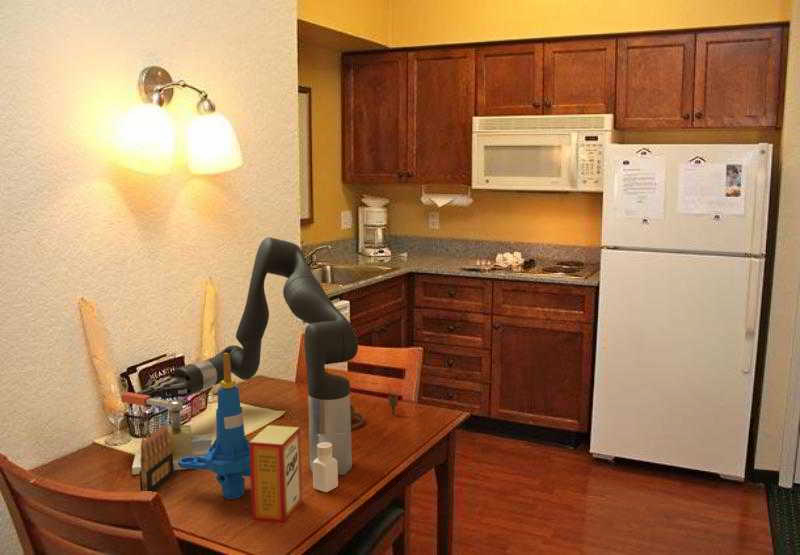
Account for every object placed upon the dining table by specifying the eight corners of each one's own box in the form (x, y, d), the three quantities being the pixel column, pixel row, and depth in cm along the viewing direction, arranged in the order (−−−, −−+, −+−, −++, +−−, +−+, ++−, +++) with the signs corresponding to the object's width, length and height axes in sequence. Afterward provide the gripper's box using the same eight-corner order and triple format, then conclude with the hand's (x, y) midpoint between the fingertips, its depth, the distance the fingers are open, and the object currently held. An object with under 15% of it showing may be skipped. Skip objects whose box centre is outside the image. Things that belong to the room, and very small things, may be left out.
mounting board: (220, 450, 175) (220, 443, 175) (221, 465, 167) (221, 458, 166) (136, 458, 171) (136, 452, 170) (132, 474, 162) (132, 467, 162)
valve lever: (129, 398, 174) (129, 391, 174) (185, 407, 167) (185, 400, 167) (119, 402, 171) (119, 395, 171) (176, 412, 164) (175, 404, 164)
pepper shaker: (312, 488, 154) (310, 445, 153) (325, 482, 157) (324, 439, 156) (326, 494, 152) (325, 450, 150) (339, 487, 155) (338, 444, 154)
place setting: (327, 412, 202) (326, 391, 201) (399, 415, 199) (399, 394, 198) (310, 436, 185) (310, 413, 184) (389, 439, 182) (389, 417, 181)
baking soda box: (271, 497, 150) (268, 423, 148) (301, 500, 149) (299, 425, 146) (252, 520, 141) (249, 440, 139) (284, 523, 140) (281, 443, 137)
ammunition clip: (166, 473, 163) (163, 421, 161) (174, 473, 162) (171, 421, 160) (140, 494, 152) (136, 439, 150) (148, 495, 152) (144, 440, 150)
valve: (194, 478, 160) (186, 343, 155) (267, 485, 156) (261, 347, 151) (167, 500, 150) (158, 357, 145) (245, 509, 146) (238, 362, 141)
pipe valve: (211, 447, 173) (209, 403, 171) (211, 456, 167) (209, 411, 166) (144, 454, 169) (141, 408, 167) (142, 463, 164) (139, 417, 162)
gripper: (175, 360, 189) (118, 377, 175) (212, 367, 183) (157, 386, 168) (176, 388, 191) (120, 408, 176) (214, 396, 184) (159, 417, 169)
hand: (138, 397), depth 172 cm, fingers closed
